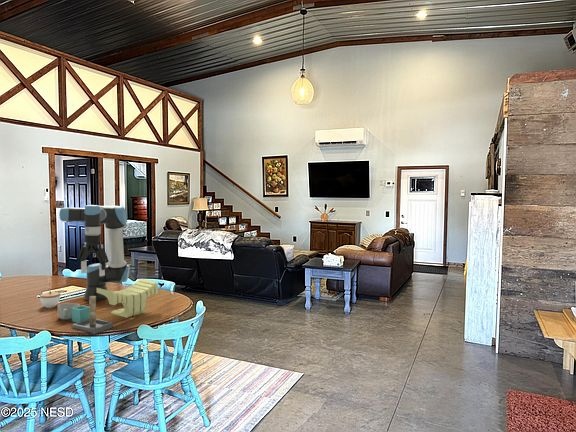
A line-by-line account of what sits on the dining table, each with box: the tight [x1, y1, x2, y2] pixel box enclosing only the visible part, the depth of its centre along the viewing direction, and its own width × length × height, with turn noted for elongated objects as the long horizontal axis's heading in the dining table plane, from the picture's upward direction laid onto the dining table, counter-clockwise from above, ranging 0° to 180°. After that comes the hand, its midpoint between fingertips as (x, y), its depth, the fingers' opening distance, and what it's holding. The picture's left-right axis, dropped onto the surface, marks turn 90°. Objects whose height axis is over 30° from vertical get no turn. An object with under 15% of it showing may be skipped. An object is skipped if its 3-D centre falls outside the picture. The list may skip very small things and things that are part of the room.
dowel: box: [88, 296, 97, 327], centre depth 206 cm, size 3×3×16 cm
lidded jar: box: [39, 291, 61, 309], centre depth 243 cm, size 11×11×9 cm
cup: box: [71, 305, 90, 323], centre depth 216 cm, size 6×6×8 cm
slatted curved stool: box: [97, 278, 159, 318], centre depth 231 cm, size 30×16×18 cm, turn 149°
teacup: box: [57, 302, 80, 321], centre depth 219 cm, size 14×11×8 cm
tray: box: [71, 318, 114, 335], centre depth 207 cm, size 16×12×3 cm
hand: (92, 274), depth 207 cm, fingers open, 13 cm apart
